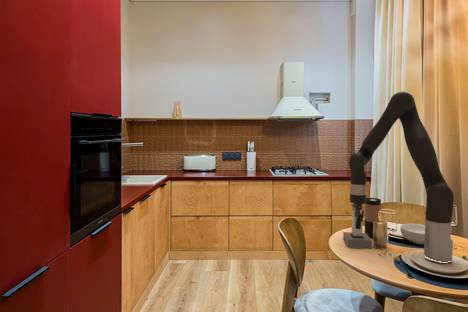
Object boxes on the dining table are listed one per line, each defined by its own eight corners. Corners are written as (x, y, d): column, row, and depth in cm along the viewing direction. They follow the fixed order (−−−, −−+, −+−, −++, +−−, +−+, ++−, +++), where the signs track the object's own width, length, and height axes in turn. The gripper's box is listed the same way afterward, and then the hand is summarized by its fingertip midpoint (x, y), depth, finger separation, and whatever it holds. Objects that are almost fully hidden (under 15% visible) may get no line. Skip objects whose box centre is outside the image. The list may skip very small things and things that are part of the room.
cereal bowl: (420, 249, 140) (420, 235, 140) (392, 238, 156) (392, 224, 156) (448, 245, 145) (448, 231, 144) (418, 235, 161) (418, 222, 160)
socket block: (365, 240, 153) (365, 233, 152) (371, 248, 142) (372, 240, 142) (343, 239, 155) (343, 232, 154) (347, 247, 144) (347, 239, 143)
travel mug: (361, 234, 162) (362, 198, 161) (373, 233, 164) (374, 197, 162) (370, 239, 155) (371, 201, 153) (383, 238, 156) (384, 200, 155)
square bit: (360, 233, 149) (360, 210, 149) (362, 236, 146) (362, 212, 145) (351, 233, 150) (352, 209, 149) (353, 235, 146) (354, 211, 145)
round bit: (384, 244, 147) (385, 220, 146) (388, 249, 141) (389, 224, 140) (371, 244, 148) (372, 220, 147) (374, 248, 142) (375, 223, 141)
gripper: (370, 196, 139) (369, 232, 140) (362, 190, 153) (361, 223, 154) (353, 195, 140) (352, 231, 141) (347, 190, 154) (346, 222, 155)
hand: (357, 227), depth 148 cm, fingers closed on square bit, 4 cm apart
